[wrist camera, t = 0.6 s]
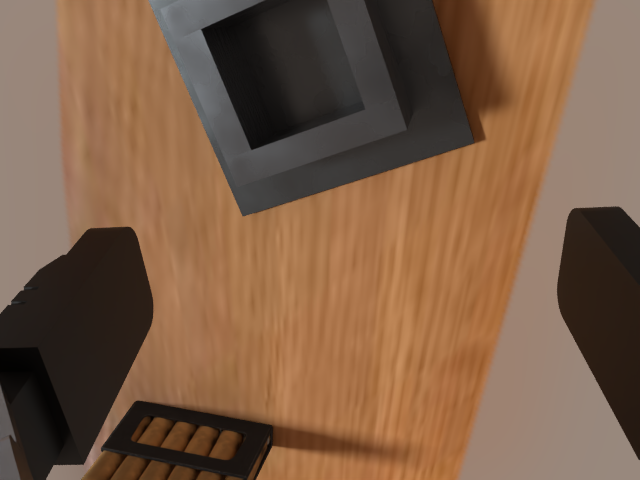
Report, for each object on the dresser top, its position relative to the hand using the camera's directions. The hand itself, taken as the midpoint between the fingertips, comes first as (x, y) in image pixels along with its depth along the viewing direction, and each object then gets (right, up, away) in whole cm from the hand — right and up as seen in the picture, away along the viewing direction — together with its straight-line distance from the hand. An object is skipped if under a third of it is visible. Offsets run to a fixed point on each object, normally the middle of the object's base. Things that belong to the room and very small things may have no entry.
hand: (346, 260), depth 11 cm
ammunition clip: (-9, -13, +32) cm, 36 cm away
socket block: (-1, +10, +20) cm, 23 cm away
